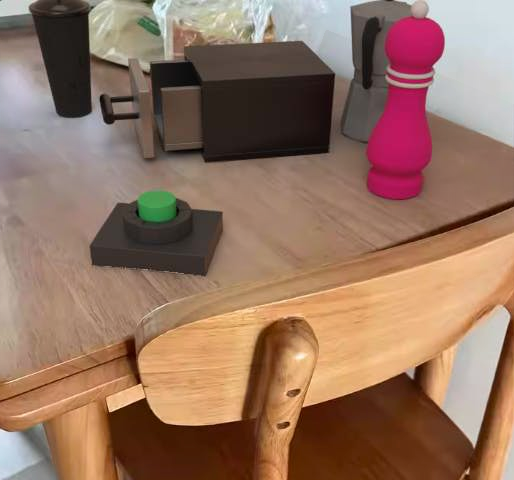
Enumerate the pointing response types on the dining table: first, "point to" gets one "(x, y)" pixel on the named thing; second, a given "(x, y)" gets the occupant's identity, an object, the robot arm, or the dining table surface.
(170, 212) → the button
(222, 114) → the cabinet
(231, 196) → the dining table surface
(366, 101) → the coffeepot
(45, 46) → the drinking cup
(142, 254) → the control block
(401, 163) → the pepper mill
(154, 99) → the drawer
